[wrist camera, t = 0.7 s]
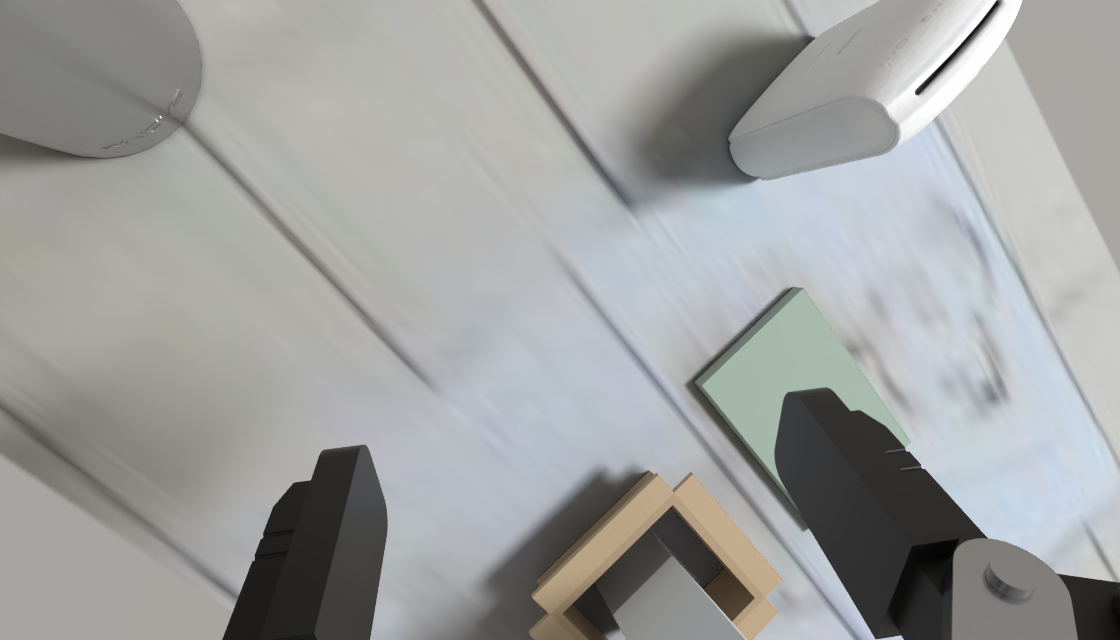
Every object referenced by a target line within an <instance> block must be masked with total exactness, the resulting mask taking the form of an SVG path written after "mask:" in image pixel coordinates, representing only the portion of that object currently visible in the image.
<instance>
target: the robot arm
mask: <svg viewBox="0 0 1120 640" xmlns="http://www.w3.org/2000/svg"><path fill="white" fill-rule="evenodd" d="M201 70H202V63H201V56H200V50H199V44H198V41H197V38H196V36H195V33H194V31H193V28H192V25H191V23H190V21H189V20H188V18H187V16H186V15H185V13H184V12H183V10H182V8H181V7H180V5H179V4H178V2H177V1H176V0H0V133H1V134H4V135H7V136H11V137H14V138H17V139H21V140H24V141H27V142H31V143H34V144H37V145H41V146H44V147H48V148H51V149H54V150H58V151H62V152H66V153H70V154H74V155H78V156H82V157H98V158H110V157H118V156H126V155H131V154H134V153H137V152H140V151H143V150H146V149H149V148H151V147H153V146H155V145H156V144H158V143H160V142H161V141H163V140H165V139H166V138H168V137H169V136H170V135H171V134H172V133H173V132H174V131H175V130H176V129H177V128H178V127H179V126H180V125H181V124H183V123H184V121H185V119H186V118H187V116H188V114H189V113H190V111H191V110H192V108H193V106H194V104H195V101H196V98H197V95H198V92H199V89H200V84H201ZM774 458H775V465H776V469H777V472H778V475H779V478H780V480H781V482H782V484H783V485H784V487H785V489H786V490H787V492H788V494H789V495H790V497H791V499H792V500H793V502H794V504H795V505H796V507H797V509H798V510H799V512H800V514H801V515H802V517H803V519H804V520H805V522H806V524H807V525H808V527H809V529H810V530H811V532H812V534H813V535H814V537H815V539H816V540H817V542H818V544H819V545H820V547H821V549H822V550H823V552H824V554H825V555H826V557H827V559H828V560H829V562H830V564H831V565H832V567H833V569H834V570H835V572H836V574H837V575H838V577H839V579H840V580H841V582H842V584H843V585H844V587H845V589H846V590H847V592H848V594H849V595H850V597H851V599H852V600H853V602H854V604H855V605H856V607H857V609H858V610H859V612H860V614H861V615H862V617H863V619H864V620H865V622H866V624H867V625H868V627H869V629H870V630H871V632H872V634H873V635H874V637H875V639H881V638H887V637H894V636H900V635H902V637H903V639H904V640H1120V583H1117V582H1110V581H1103V580H1096V579H1089V578H1082V577H1075V576H1068V575H1061V574H1056V573H1055V572H1054V570H1053V569H1051V568H1050V567H1049V566H1048V565H1047V564H1046V563H1044V562H1043V561H1042V560H1040V559H1039V558H1038V557H1036V556H1034V555H1033V554H1031V553H1029V552H1028V551H1026V550H1024V549H1022V548H1020V547H1017V546H1015V545H1012V544H1010V543H1007V542H1003V541H999V540H994V539H988V538H987V537H986V536H985V535H984V534H983V533H982V532H981V530H980V529H979V528H978V527H977V526H976V525H975V524H974V523H973V522H972V520H971V519H970V518H969V517H968V516H967V515H966V514H965V513H964V512H963V511H962V509H961V508H960V507H959V506H958V505H957V504H956V503H955V502H954V501H953V499H952V498H951V497H950V496H949V495H948V494H947V493H946V492H945V491H944V490H943V488H942V487H941V486H940V485H939V484H938V483H937V482H936V481H935V480H934V479H933V477H932V476H931V475H930V474H929V473H928V472H927V471H926V470H925V469H922V468H921V464H920V463H919V462H918V461H917V460H916V459H915V458H914V456H913V455H912V454H911V453H910V452H906V450H905V446H904V445H903V444H902V443H901V442H900V441H899V440H898V439H897V438H896V437H895V435H894V434H893V433H892V432H891V431H890V430H889V429H888V428H887V427H886V426H885V425H883V424H882V423H880V422H878V421H877V420H875V419H874V418H872V417H870V416H869V415H867V414H866V413H864V412H862V411H861V410H855V411H850V410H849V408H848V407H847V406H846V405H845V404H844V403H843V401H842V400H841V399H840V398H839V397H838V396H837V394H836V393H835V392H834V391H833V390H831V389H830V388H828V387H822V388H815V389H807V390H799V391H791V392H788V393H786V395H785V397H784V399H783V404H782V410H781V415H780V421H779V427H778V432H777V438H776V444H775V450H774ZM386 537H387V509H386V503H385V499H384V496H383V493H382V490H381V486H380V483H379V480H378V477H377V474H376V470H375V467H374V464H373V461H372V458H371V454H370V451H369V449H368V447H367V446H366V445H358V446H350V447H342V448H334V449H327V450H323V451H322V452H321V453H320V455H319V458H318V461H317V464H316V467H315V470H314V473H313V476H312V479H311V481H303V482H296V483H293V484H292V486H291V487H290V488H289V489H288V490H287V491H286V493H285V494H284V495H283V496H282V497H281V499H280V500H279V501H278V502H277V503H276V504H275V506H274V507H273V509H272V512H271V514H270V517H269V519H268V522H267V525H266V527H265V530H264V532H263V539H261V540H260V543H259V545H258V548H257V551H256V553H255V561H252V564H251V566H250V569H249V572H248V574H247V577H246V579H245V582H244V585H243V587H242V590H241V592H240V595H239V598H238V600H237V603H236V605H235V608H234V611H233V613H232V616H231V618H230V621H229V624H228V626H227V629H226V631H225V634H224V637H223V639H222V640H370V636H371V630H372V624H373V617H374V611H375V605H376V599H377V593H378V586H379V580H380V574H381V568H382V562H383V556H384V549H385V543H386Z"/></svg>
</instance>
